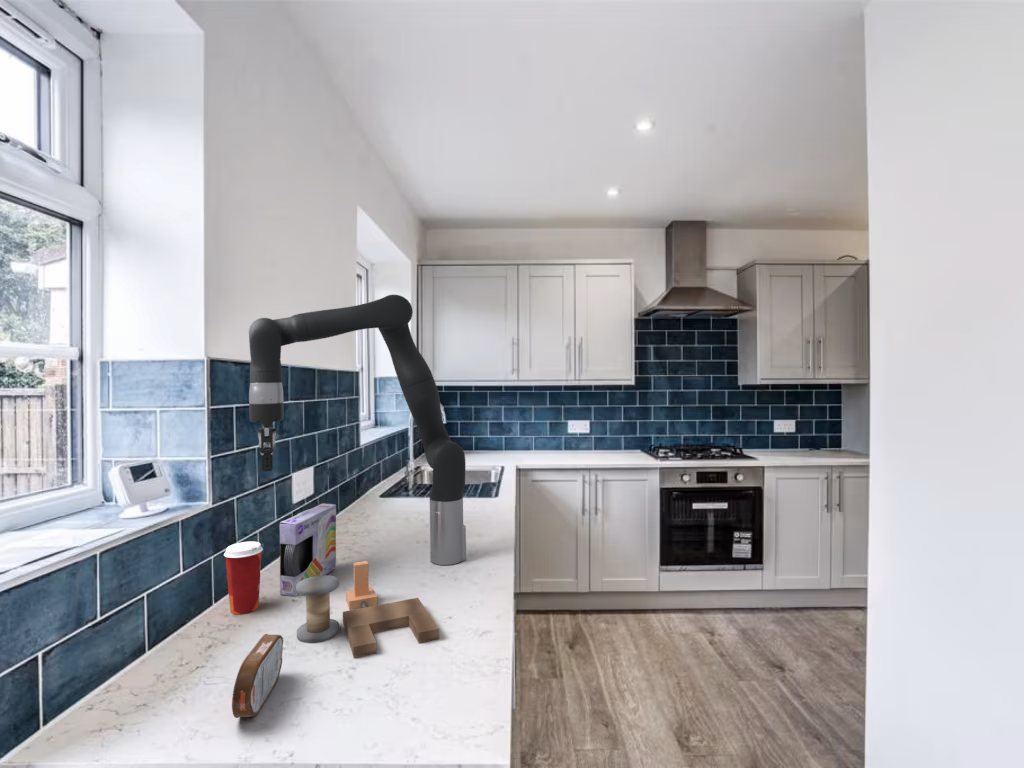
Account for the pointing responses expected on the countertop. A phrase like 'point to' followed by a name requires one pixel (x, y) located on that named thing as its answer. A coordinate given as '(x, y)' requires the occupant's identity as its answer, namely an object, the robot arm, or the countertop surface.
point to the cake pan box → (307, 546)
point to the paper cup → (243, 576)
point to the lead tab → (361, 588)
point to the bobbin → (317, 609)
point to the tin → (257, 676)
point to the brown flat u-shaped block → (387, 624)
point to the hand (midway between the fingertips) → (267, 468)
